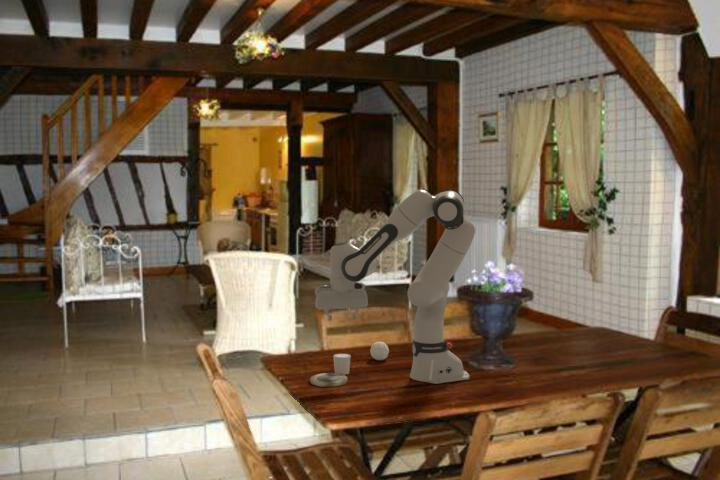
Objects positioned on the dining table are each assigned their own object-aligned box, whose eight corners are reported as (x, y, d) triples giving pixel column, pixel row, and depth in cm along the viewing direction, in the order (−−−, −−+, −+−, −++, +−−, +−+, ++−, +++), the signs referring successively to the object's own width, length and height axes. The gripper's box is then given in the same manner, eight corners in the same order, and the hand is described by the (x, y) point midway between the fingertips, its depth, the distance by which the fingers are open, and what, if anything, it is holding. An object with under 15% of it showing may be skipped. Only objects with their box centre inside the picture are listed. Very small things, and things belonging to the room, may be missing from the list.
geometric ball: (376, 367, 297) (365, 353, 295) (378, 355, 304) (368, 342, 302) (391, 359, 294) (380, 345, 292) (393, 348, 301) (382, 334, 299)
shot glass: (348, 375, 275) (348, 358, 274) (331, 375, 276) (331, 357, 276) (352, 371, 282) (352, 353, 281) (335, 370, 283) (335, 352, 282)
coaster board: (343, 375, 276) (343, 371, 276) (350, 385, 262) (350, 382, 262) (307, 377, 273) (307, 374, 273) (313, 388, 260) (313, 384, 259)
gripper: (316, 286, 270) (316, 322, 272) (368, 284, 275) (368, 320, 276) (313, 284, 277) (313, 319, 278) (365, 282, 281) (365, 316, 282)
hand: (341, 319), depth 277 cm, fingers open, 8 cm apart
